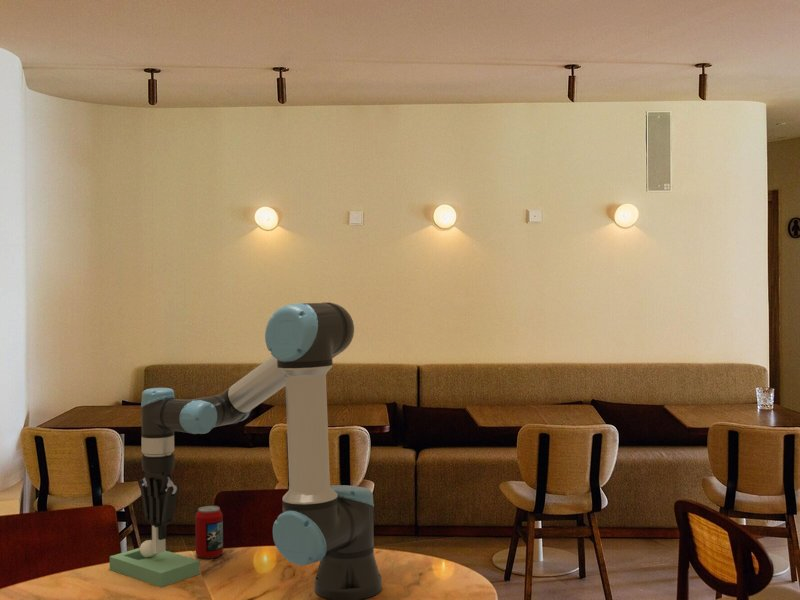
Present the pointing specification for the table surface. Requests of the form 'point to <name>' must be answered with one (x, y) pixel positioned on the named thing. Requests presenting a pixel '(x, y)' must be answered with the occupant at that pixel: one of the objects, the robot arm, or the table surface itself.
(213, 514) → the beverage can
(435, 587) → the table surface
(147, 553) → the ball
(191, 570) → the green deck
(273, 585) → the table surface
